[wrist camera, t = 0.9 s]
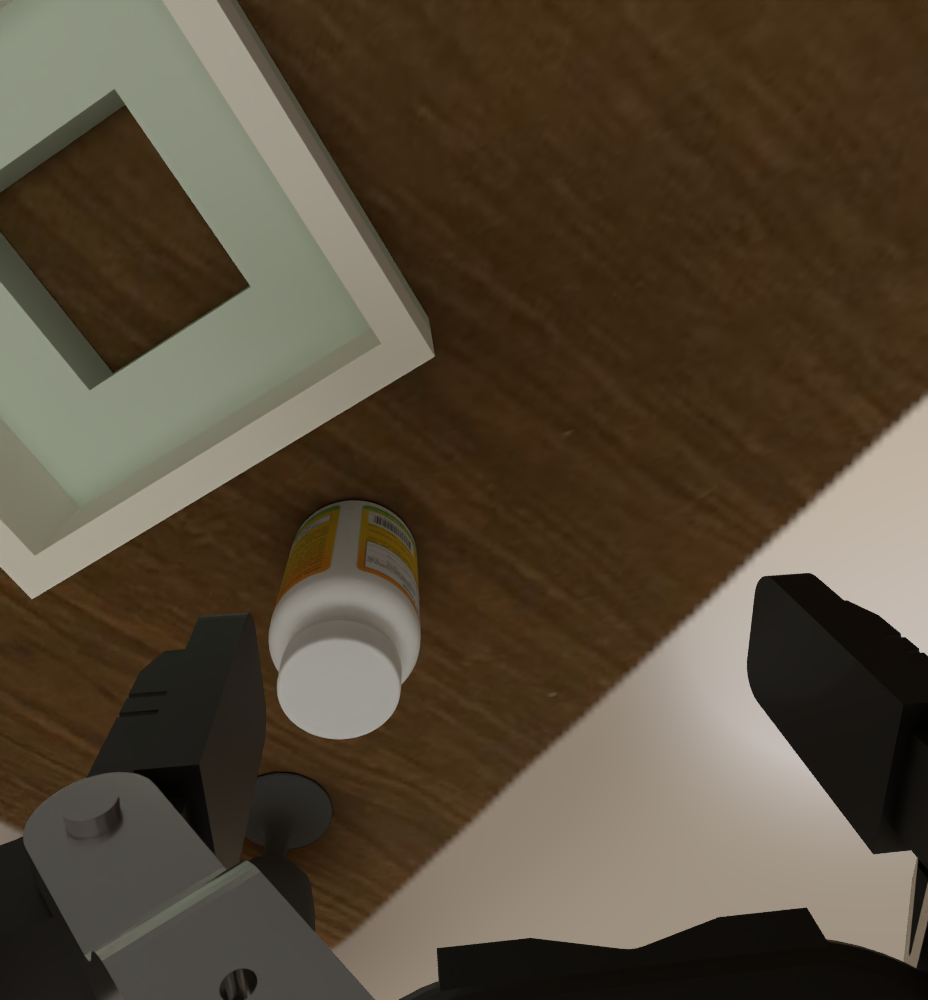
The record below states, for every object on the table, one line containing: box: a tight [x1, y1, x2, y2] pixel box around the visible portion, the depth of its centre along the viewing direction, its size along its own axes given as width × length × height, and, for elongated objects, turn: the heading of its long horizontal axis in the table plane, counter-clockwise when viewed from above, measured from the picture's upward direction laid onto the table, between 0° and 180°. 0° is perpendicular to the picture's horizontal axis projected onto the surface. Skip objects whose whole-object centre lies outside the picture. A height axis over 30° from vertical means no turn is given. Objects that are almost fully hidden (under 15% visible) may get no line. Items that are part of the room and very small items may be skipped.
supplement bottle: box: [269, 500, 421, 739], centre depth 30 cm, size 5×5×10 cm
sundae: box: [245, 773, 333, 932], centre depth 33 cm, size 7×7×15 cm
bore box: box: [0, 0, 435, 599], centre depth 26 cm, size 16×16×6 cm
